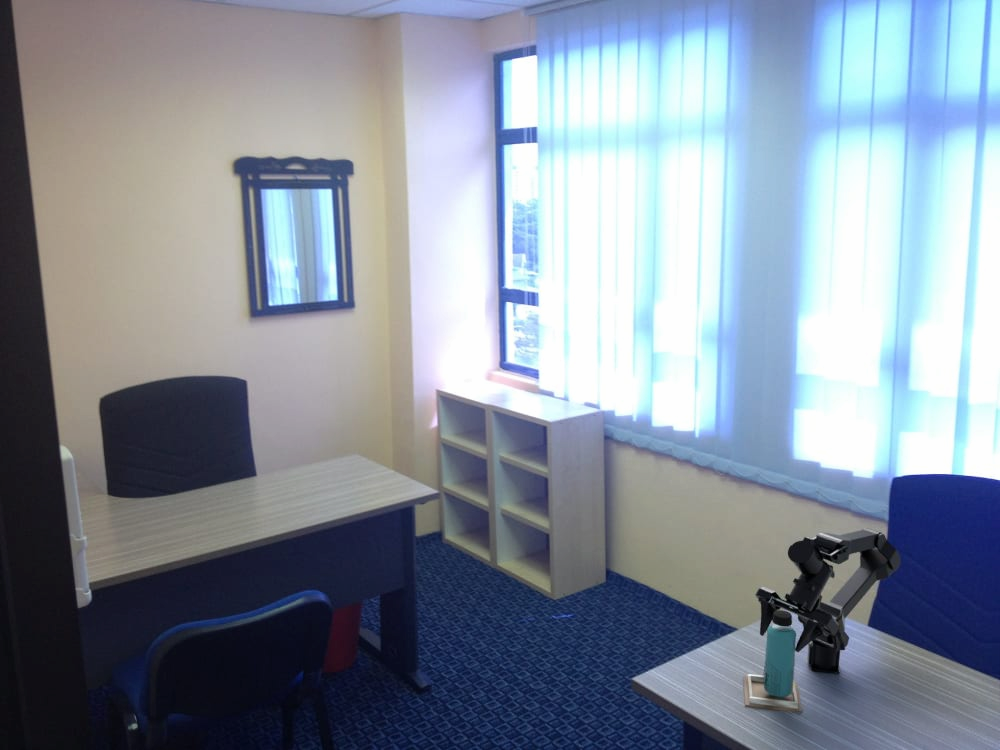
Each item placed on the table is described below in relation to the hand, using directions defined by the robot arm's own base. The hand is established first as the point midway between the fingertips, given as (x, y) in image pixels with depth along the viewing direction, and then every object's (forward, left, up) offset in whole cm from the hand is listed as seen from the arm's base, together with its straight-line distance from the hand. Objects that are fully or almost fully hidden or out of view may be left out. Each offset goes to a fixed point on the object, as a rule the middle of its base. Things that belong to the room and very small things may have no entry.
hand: (778, 643), depth 202 cm
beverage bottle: (0, +2, -12) cm, 12 cm away
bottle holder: (+1, +1, -12) cm, 12 cm away
